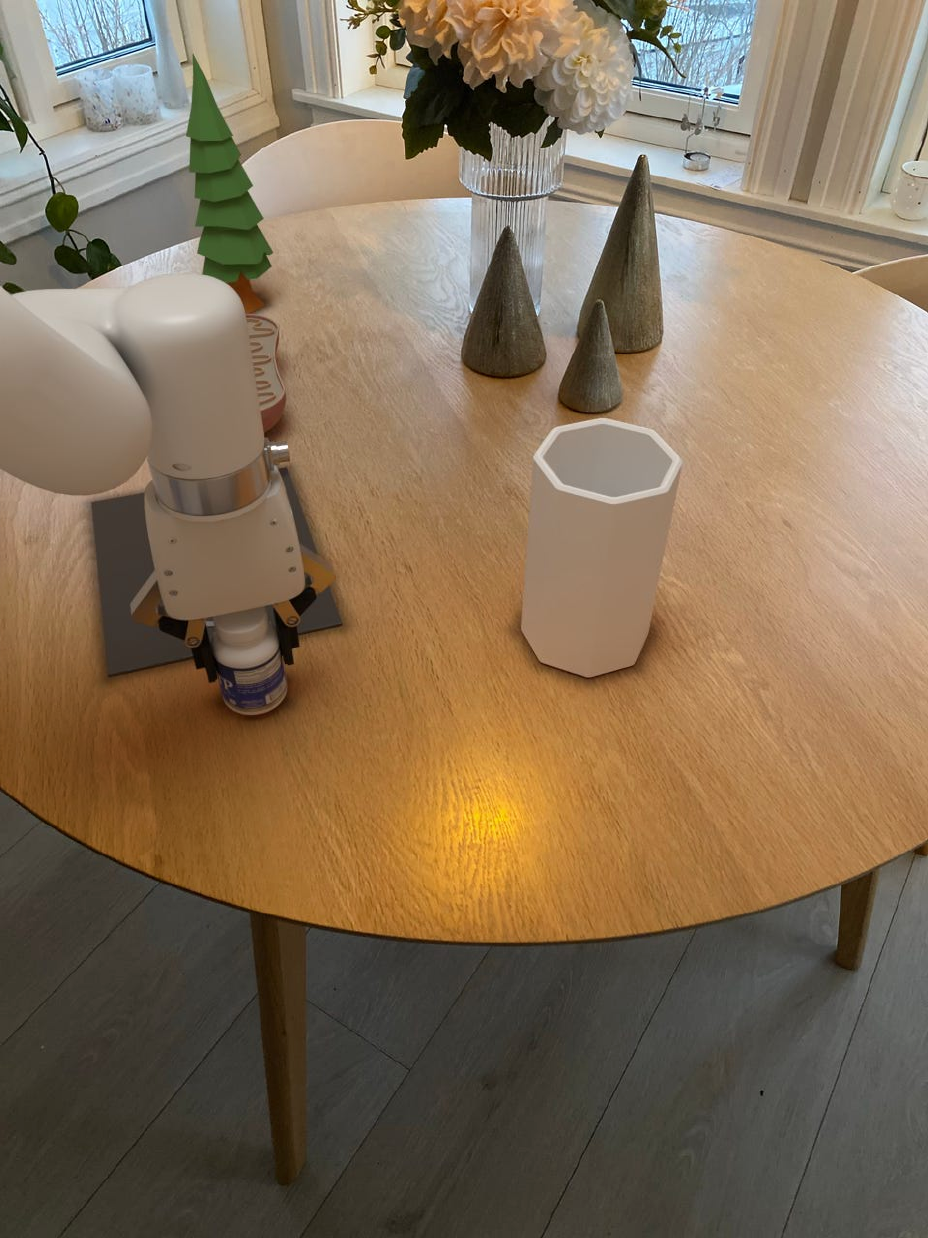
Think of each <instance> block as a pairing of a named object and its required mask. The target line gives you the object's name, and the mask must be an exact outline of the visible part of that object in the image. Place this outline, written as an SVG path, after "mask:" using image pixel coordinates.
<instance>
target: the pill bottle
mask: <svg viewBox="0 0 928 1238" xmlns="http://www.w3.org/2000/svg"><path fill="white" fill-rule="evenodd" d="M213 621H214V626H215V632H214V634H213V636H212V639H211V650H212V655H213V659H214V663H215V667H216V672H217V677H218V679H217V680H218V683H219V689H220V692H221V696H222V699H223V701H224V704H225V705H226V707H228V708H229V709H230V710H232V711H233V712H235V713H238V714H240V715H244V716H257V715H262V714H265V713H268V712H270V711H272V710H274V709H275V708H277V707H278V706H279V705H280V704H282V702H283V701H284V699H285V697H286V695H287V692H288V681H287V676H286V670H285V669H286V668H285V663H284V660H283V656H282V651H281V644H280V638H279V633H278V630H277V628H276V627H275V626H274V624H273V623H272V622H270V621H269V620H268V615H267V611H266V608H265V606H262V607H257V608H252V609H247V610H242V611H238V612H233V613H228V614H223V615H217V616H213Z"/></svg>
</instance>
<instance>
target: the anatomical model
mask: <svg viewBox="0 0 928 1238" xmlns="http://www.w3.org/2000/svg"><path fill="white" fill-rule="evenodd" d="M246 319H247V325H248V332H249V338H250V345H251V352H252V359H253V365H254V372H255V379H256V385H257V392H258V398H259V405H260V412H261V418H262V425H263V432H264V434H266V433H267V432H268V431H270V430H271V429H272V428H273V427H274V426H275V425H277V423H278V422H279V420H280V419H281V416H282V415H283V412H284V411H285V406H286V400H287V391H286V387H285V384H284V382H283V380H282V377H281V374H280V372H279V369H278V365H277V364H278V363H277V353H278V348H279V343H280V327H279V325H278V323H277V322H276V321H274V320H273V319H272V318H270V317H267V316H265V315H260V314H255V313H249V314H246Z"/></svg>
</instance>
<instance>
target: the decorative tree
mask: <svg viewBox="0 0 928 1238" xmlns="http://www.w3.org/2000/svg"><path fill="white" fill-rule="evenodd" d="M203 71H204V70H202V67H201V65H200V64H199V62H198V60H197V58H196V57H195V54H194V53H192V89H191V105H190V106H191V107H190V112H189V118H188V122H187V127H186V134H185V137H186V138H190V139H189V142H190V143H189V165H188V167H189V168H188V172H189V173H191V174H194V173H195V176H194V177H195V178H194V199H198V200H199V206H198V210H197V215H196V219H195V224H194V227H195V228H197V227H198V228H199V227H202V231H201V234H200V238H199V242H198V247H197V251H196V254H198V255H199V256H202V257H204V260H203V266H202V273H201V274H203V275H208V276H211V277H214V278H216V279H219V280H221V281H223V282H225V283H226V284H228V285H229V286H230V287H231V288H232V289H233V290H234V291H235V292H236V293H237V294H238V296H239V297H240V299H241V301H242V304H243V306H244V309H245V314H253V313H254V312H255V311H258V310H259V309H262V308H263V307H266V304H265V303H264V302H263V301H262V299H261V298H260V297H259V296H258V295H257V293H256V292H255V291H254V289H253V286H252V284H251V281H252V280H258V279H259V278H260V277H261V276H262V275H264V274H265V273H266V272H267V271H268V270H269V269H271V268H272V263H271V262H270V259H269V257H270V256H271V255H273V254H274V251H273V249H272V247H271V246H270V244H269V242H268V241H267V239H266V238H265V235H264V233H263V231H261V229H260V227H259V225H258V224H259V223H260V222H262V221H263V220H264V216H263V214H262V213H261V211H260V209H259V207H258V206H257V204H256V202H255V201H254V199H253V197H252V195H251V193H250V191H249V190H250V189H252V188H253V187H254V184H253V183H252V181H251V179H250V177H249V176H248V174H247V172H246V170H245V168H244V167H243V165H242V163H241V161H240V157H241V156H242V153H241V151H240V150H239V148H238V145H237V144H236V142H235V141H234V138H233V137H234V135H233V133H232V131H231V128H230V126H229V125H228V123H227V121H226V120H225V117H224V116H223V114H222V111H221V110H220V108H219V106H218V104H217V102H216V100H215V96H214V94H213V92H212V90H211V87H210V85H209V82H208V79H207V77H206V75H205V73H204V72H203ZM268 256H269V257H268Z"/></svg>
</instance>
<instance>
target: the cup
mask: <svg viewBox="0 0 928 1238" xmlns="http://www.w3.org/2000/svg"><path fill="white" fill-rule="evenodd" d="M682 468H683V459H682V458H681V457H680V456H679V455H678V453H676V452H675V450H674V449H673V448H672V447H671V446H670V445H669V443H667V442H666V441H665V440H664V439H663V438H662V436H661V435H660V434H659V433H657V431H655V430H654V429H652V428H649V427H644V426H640V425H637V424H631V423H628V422H623V421H619V420H615V419H611V418H607V417H599V418H593V419H589V420H584V421H579V422H574V423H569V424H563V425H560V426H556V427H554V428H552V429H551V430H550V431H549V433H548V434H547V436H546V437H545V438H544V440H543V441H542V442H541V444H540V446H539V447H538V449H537V450H536V451H535V453H534V454H533V456H532V469H531V482H530V483H531V484H530V497H529V509H528V510H529V512H528V513H529V514H528V525H527V539H526V550H525V551H526V552H525V564H524V565H525V567H524V578H523V579H524V580H523V594H522V606H521V607H522V608H521V622H520V631H521V633H522V634H523V636H524V637H525V640H526V641H527V643H528V644H529V646H530V648H531V650H532V651H533V653H534V654H535V656H536V657H537V659H538V661H539V662H540V663H542V664H545V665H548V666H551V667H554V668H556V669H559V670H563V671H565V672H569V673H571V674H572V673H573V674H575V675H579V676H582V677H584V678H593V677H596V676H600V675H604V674H608V673H611V672H614V671H617V670H618V671H619V670H622V669H626V668H628V667H632V666H634V665H635V664H636V662H637V661H638V658H639V655H640V653H641V651H642V649H643V647H644V644H645V642H646V640H647V637H648V635H649V632H650V628H651V622H652V616H653V611H654V607H655V602H656V598H657V593H658V587H659V582H660V578H661V573H662V569H663V568H662V567H663V563H664V558H665V557H664V556H665V552H666V548H667V547H666V546H667V543H668V537H669V534H670V533H669V532H670V527H671V523H672V519H673V513H674V508H675V503H676V499H677V494H678V489H679V483H680V478H681V473H682Z"/></svg>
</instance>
